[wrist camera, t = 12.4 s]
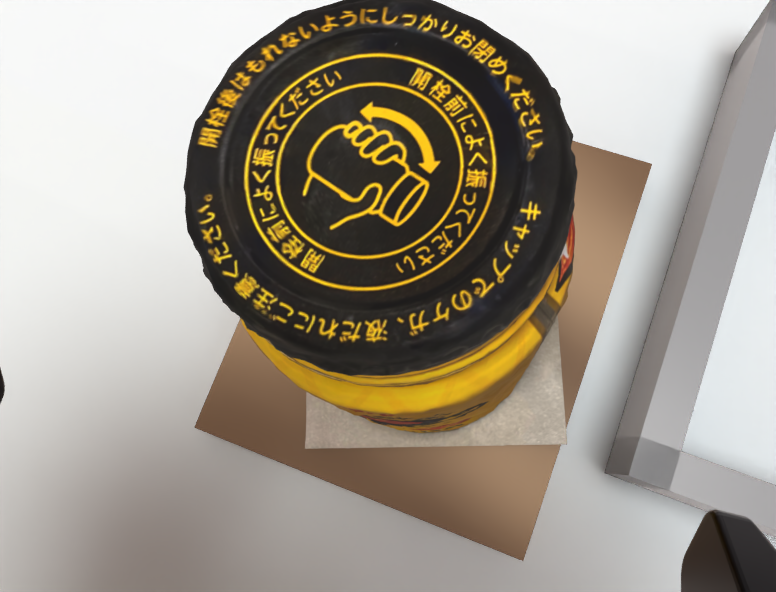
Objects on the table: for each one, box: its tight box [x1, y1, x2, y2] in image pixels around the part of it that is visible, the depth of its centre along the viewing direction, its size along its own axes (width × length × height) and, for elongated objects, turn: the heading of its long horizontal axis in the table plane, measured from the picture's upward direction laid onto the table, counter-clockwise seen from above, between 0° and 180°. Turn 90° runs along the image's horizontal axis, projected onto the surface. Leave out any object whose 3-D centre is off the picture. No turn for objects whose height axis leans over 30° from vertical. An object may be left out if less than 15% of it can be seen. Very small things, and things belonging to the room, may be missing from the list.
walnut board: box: [195, 141, 652, 561], centre depth 21 cm, size 12×10×1 cm
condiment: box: [184, 0, 577, 449], centre depth 15 cm, size 7×8×12 cm
